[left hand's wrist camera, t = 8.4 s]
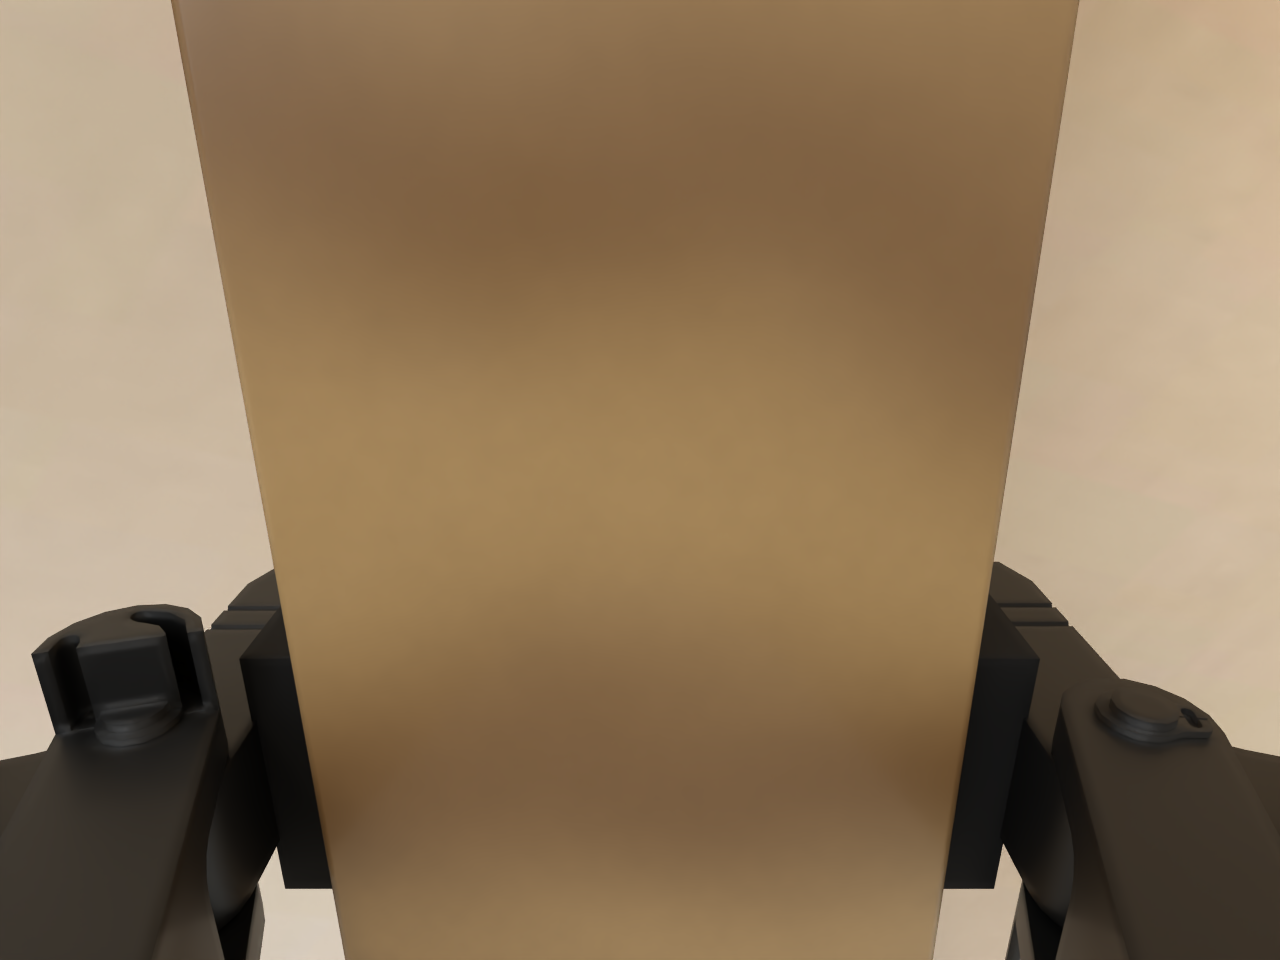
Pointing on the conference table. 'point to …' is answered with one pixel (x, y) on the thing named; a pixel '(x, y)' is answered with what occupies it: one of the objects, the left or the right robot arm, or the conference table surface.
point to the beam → (631, 445)
